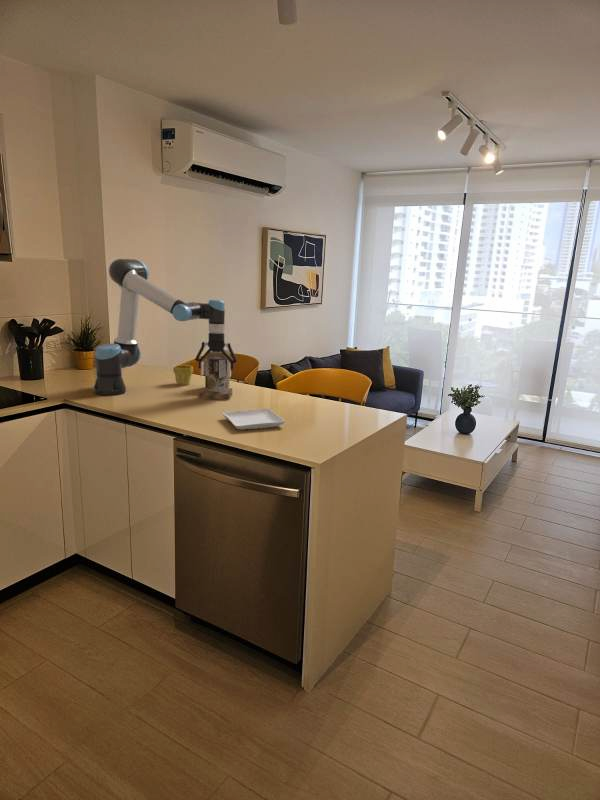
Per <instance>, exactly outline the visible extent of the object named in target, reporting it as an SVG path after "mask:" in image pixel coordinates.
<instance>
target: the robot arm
mask: <svg viewBox="0 0 600 800" xmlns="http://www.w3.org/2000/svg"><path fill="white" fill-rule="evenodd" d="M108 275H109V277H110V279H111V280H112V281H113V282H114V283H115V284H117V285H118V287H119V288H120V291H121V293H120V300H119V301H120V304H119V316H118V326H117V336H116V337H115V338H114V339H113V343H104V344H103V343H102V344H100V345H98V346H97V347H96V348H95V352H94V353H95V354H94V358H95V370H96V378H95V382H94V385H93V394H95V395H98V396H115V395H116V396H118V395H122V394H125V393H126V392H127V386H126V383H125V381H124V378H123V376H122V369H123V368H128V367H129V368H130V367H132V366H134V365H136V364H137V363H139V361H140V359H141V356H142V352H141V351H142V350H141V349H140V347H139V345H138V344H139V342H138V340H137V339H136V331H137V321H138V314H139V313H138V310H139V303H140V302H139V301H140V296H142V297H143V298H144V299H146V300H148V301H149V302H152V303H153V304H155V305H156V306H158V307H160V308H161V309H163V310H165V311H166V312H167V313H170V314H171V315H172V316H173V318H174V319H175V320H176V321H178V322H187V321H191V320H208V342H205V341H202V342H201V347H200V349H199V351H198V352H197V355H196V357H195V359H194V360H195V362H198V369H199V370H200V377H202V376H204V369H205V361H203V360H205V358H207V355H208V353H209V352H210V351H213V352H220V351H221V352H222V353H223V354H224V355H225V357H226V358H227V359H228V360H229V362H230V363H229V378H231V376H232V371H233V370H234V364H235V363H237V362H238V359H237V356H236V354H235V351H234V350H233V348H232V344H231V342H228V343H226V342H225V317H226V316H225V315H226V314H225V311H226V309H225V301H224V300H222V299H209V300H208V303H203V302H196V301H195V302H184V301H183V300H181V299H180V298H178V297H176V296H175V295H173V294H171V293H169V292H167V291H166V290H164V289H162V288H161V287H159V286H157V285H156V284H154V283H153V282H150V281H149V280H148V279H149V275H150V273H149V269H148V266H147V265H146V264H145V263H144V262H143V261H141V260H139V259H133V258H132V259H131V258H130V259H129V258H118V259H114V260H113V261H112V262H111V263H110V265H109V268H108ZM207 346H208V349H207V350H206V352H204V353H203V351H204V350H205V347H207ZM224 347H226V348H227V350H229V352H230V356H229V355H228V354H227V352H226V351H225V350H226V349H225V348H224ZM202 353H203V355H202ZM201 355H202V356H201Z"/></svg>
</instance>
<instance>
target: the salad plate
mask: <svg viewBox="0 0 600 800" xmlns="http://www.w3.org/2000/svg"><path fill="white" fill-rule="evenodd" d="M221 414H222V416H223V417H224V418H225V419H226V420H228V421H229V422H230V423H231V425H233V426H234V428H235V429H237V430H240V431H242V430H243V431H244V430H245V431H246V429H248V430H259V429H258V428H260V429H268V428H269V427H270V428H277V427H280V426H282V425H284V424H285V423H286V420H285V419H283V418H282V417H281V416H279V415H278V414H276V413H275V412H274V411H272V410H271V409H270V408H259V409H258V408H257V409H244V410H234V411H224V412H222V413H221Z"/></svg>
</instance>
